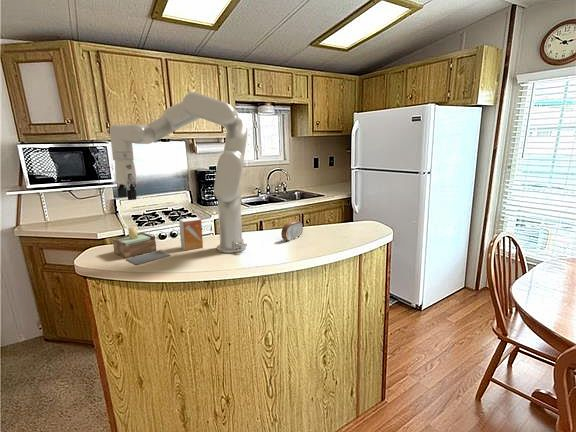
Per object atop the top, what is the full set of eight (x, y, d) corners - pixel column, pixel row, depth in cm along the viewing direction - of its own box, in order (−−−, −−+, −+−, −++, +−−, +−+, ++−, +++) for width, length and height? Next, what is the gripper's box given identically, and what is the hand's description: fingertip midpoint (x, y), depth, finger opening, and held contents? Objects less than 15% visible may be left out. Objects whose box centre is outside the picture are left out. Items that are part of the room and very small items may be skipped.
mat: (170, 255, 132) (170, 255, 132) (136, 265, 122) (136, 264, 122) (159, 251, 138) (159, 250, 138) (125, 259, 128) (125, 259, 127)
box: (156, 250, 138) (155, 236, 137) (125, 258, 129) (123, 243, 127) (144, 246, 145) (142, 232, 144) (114, 253, 136) (112, 238, 134)
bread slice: (298, 235, 162) (298, 218, 160) (304, 235, 160) (304, 219, 158) (280, 242, 150) (280, 224, 148) (286, 243, 148) (286, 225, 146)
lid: (150, 239, 138) (149, 227, 137) (125, 245, 130) (123, 232, 129) (142, 236, 143) (140, 224, 142) (116, 241, 135) (115, 229, 134)
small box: (185, 251, 138) (182, 221, 135) (181, 247, 143) (178, 219, 140) (203, 247, 142) (201, 219, 140) (198, 244, 147) (196, 216, 145)
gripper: (141, 156, 126) (145, 199, 130) (124, 156, 138) (128, 195, 141) (121, 157, 121) (126, 201, 125) (105, 156, 132) (110, 197, 136)
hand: (127, 198), depth 133 cm, fingers open, 9 cm apart
